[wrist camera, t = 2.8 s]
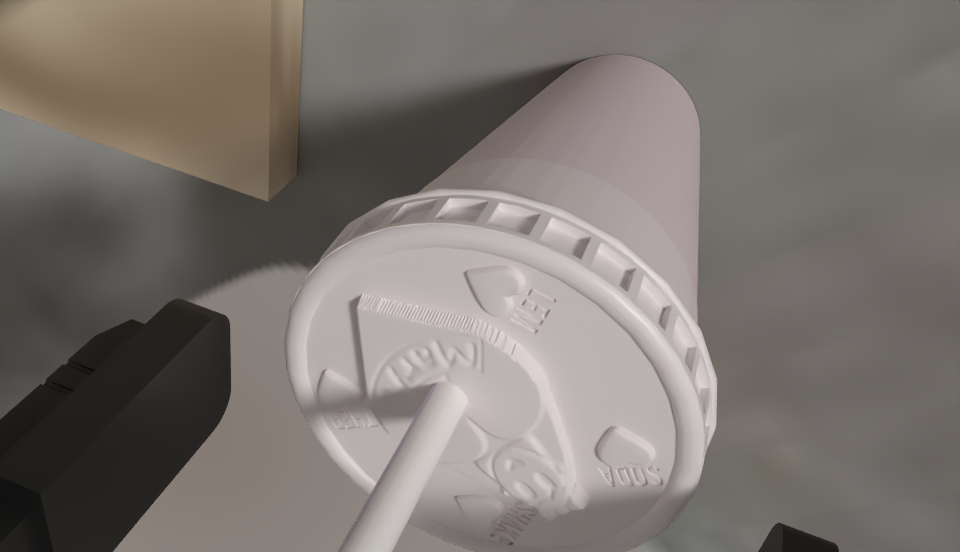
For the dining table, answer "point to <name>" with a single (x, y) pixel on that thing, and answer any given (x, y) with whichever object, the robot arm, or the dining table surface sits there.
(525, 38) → the dining table surface
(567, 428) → the smoothie
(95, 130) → the collar stand
